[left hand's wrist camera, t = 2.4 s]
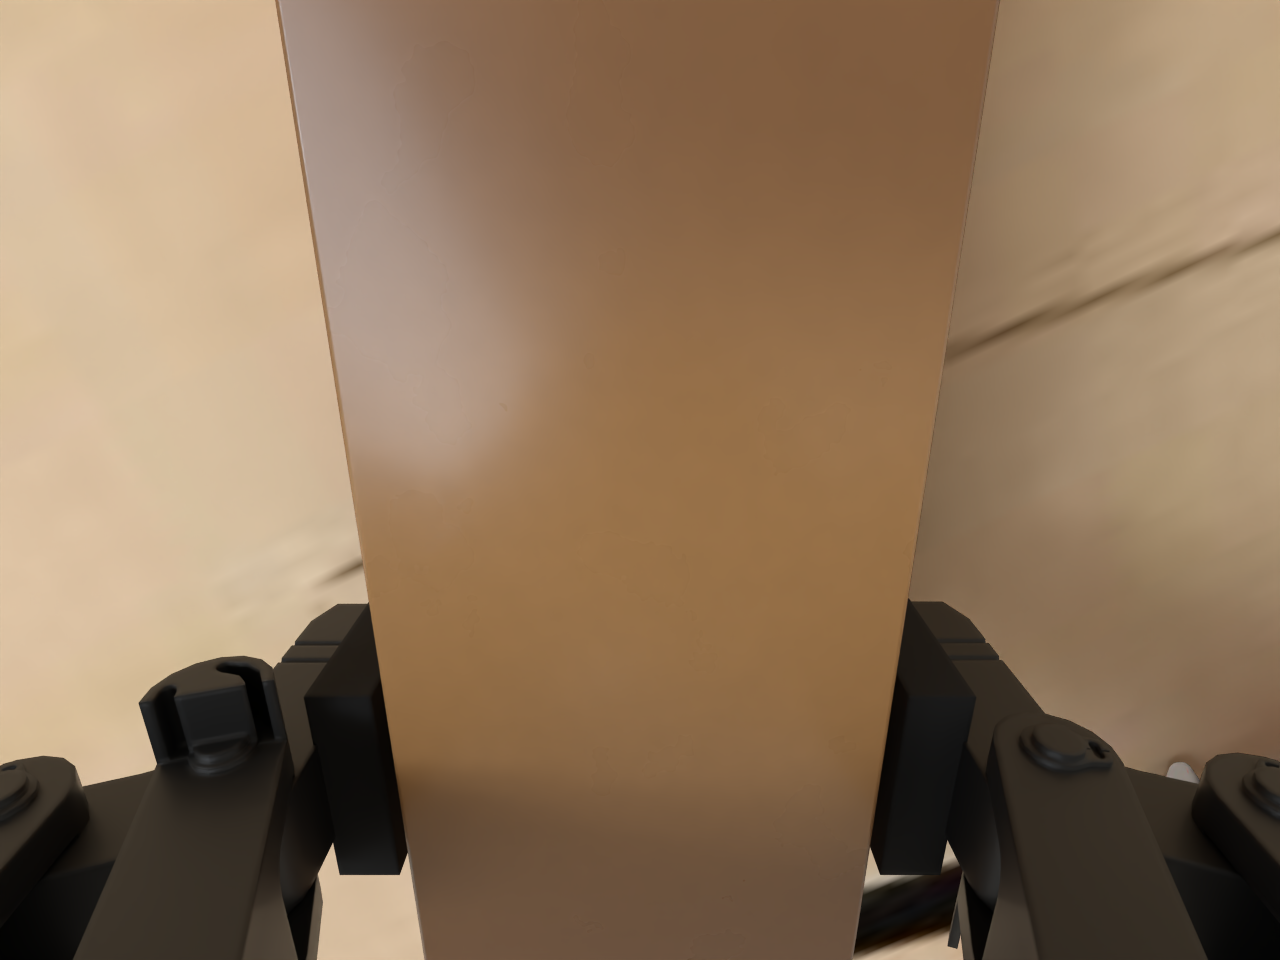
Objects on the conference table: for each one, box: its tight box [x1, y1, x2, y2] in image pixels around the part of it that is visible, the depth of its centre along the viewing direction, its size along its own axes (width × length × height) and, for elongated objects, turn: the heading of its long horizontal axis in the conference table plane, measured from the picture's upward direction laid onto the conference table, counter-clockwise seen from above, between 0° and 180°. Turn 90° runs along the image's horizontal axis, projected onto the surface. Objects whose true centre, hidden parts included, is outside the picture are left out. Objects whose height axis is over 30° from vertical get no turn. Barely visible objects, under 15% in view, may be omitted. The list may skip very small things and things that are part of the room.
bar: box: [275, 0, 1000, 960], centre depth 9 cm, size 24×5×8 cm, turn 0°
